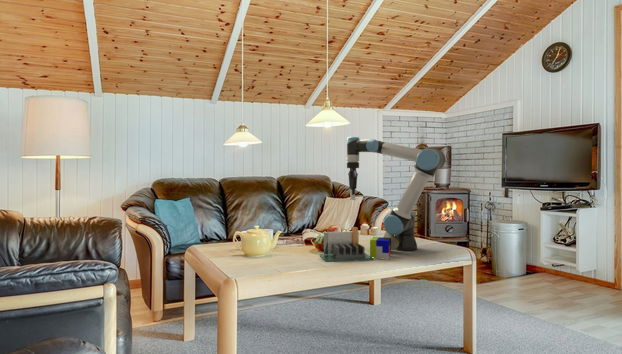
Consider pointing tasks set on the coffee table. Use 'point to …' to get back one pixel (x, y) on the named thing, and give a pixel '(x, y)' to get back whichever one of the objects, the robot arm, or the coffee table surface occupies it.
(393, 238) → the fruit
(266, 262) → the coffee table surface
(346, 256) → the model factory
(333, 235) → the upright grey panel
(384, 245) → the puzzle toy
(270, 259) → the coffee table surface
